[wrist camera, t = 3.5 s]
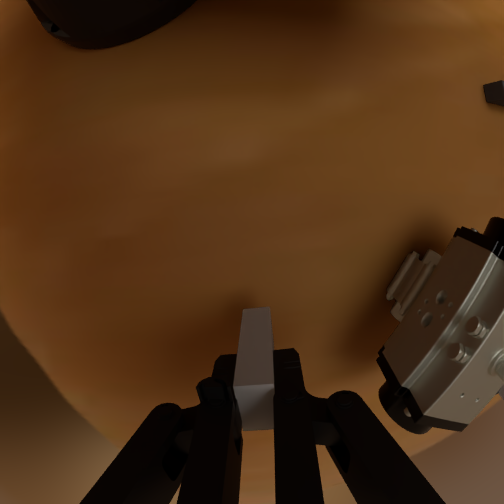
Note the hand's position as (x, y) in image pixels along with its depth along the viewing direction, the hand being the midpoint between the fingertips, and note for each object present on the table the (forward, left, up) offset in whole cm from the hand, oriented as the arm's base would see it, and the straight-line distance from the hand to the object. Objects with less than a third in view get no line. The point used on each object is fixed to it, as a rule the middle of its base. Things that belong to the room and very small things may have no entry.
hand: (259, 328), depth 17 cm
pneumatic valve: (0, +11, -4) cm, 12 cm away
